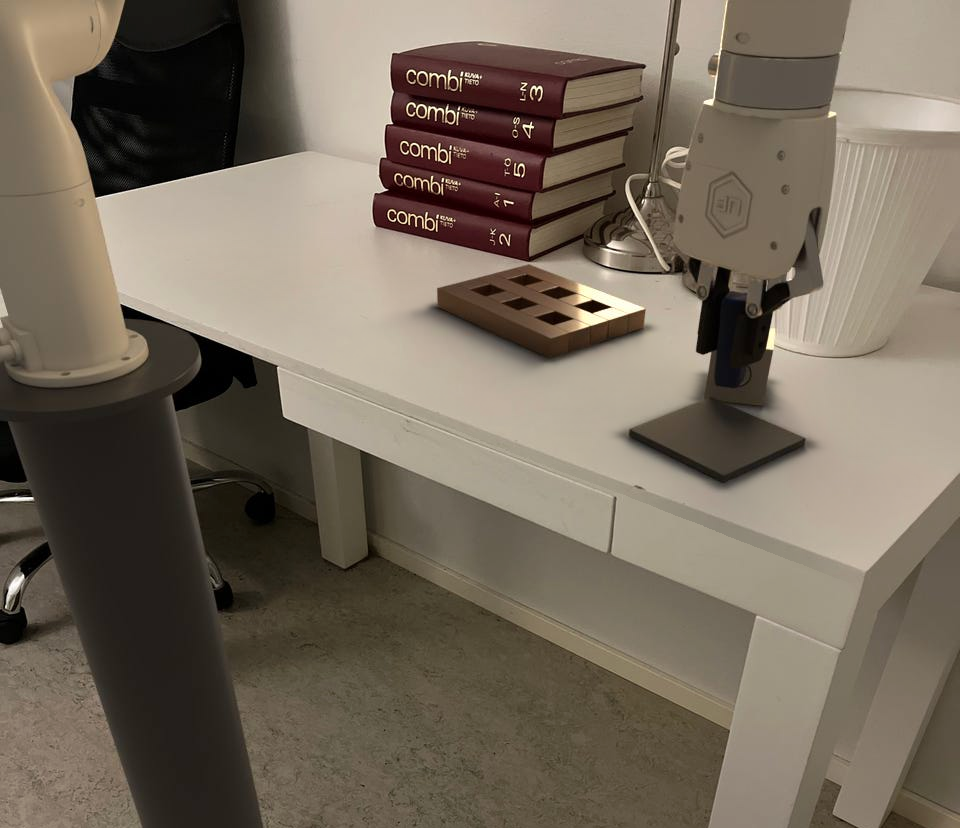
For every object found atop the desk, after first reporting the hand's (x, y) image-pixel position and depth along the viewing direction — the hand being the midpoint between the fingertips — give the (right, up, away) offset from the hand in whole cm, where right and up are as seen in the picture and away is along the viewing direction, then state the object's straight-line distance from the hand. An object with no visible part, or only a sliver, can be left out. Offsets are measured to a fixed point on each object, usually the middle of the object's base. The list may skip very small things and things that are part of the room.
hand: (728, 354), depth 74 cm
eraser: (0, -2, +2) cm, 3 cm away
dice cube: (+4, 0, +12) cm, 13 cm away
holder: (-13, +12, +26) cm, 32 cm away
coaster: (0, -6, +4) cm, 7 cm away
